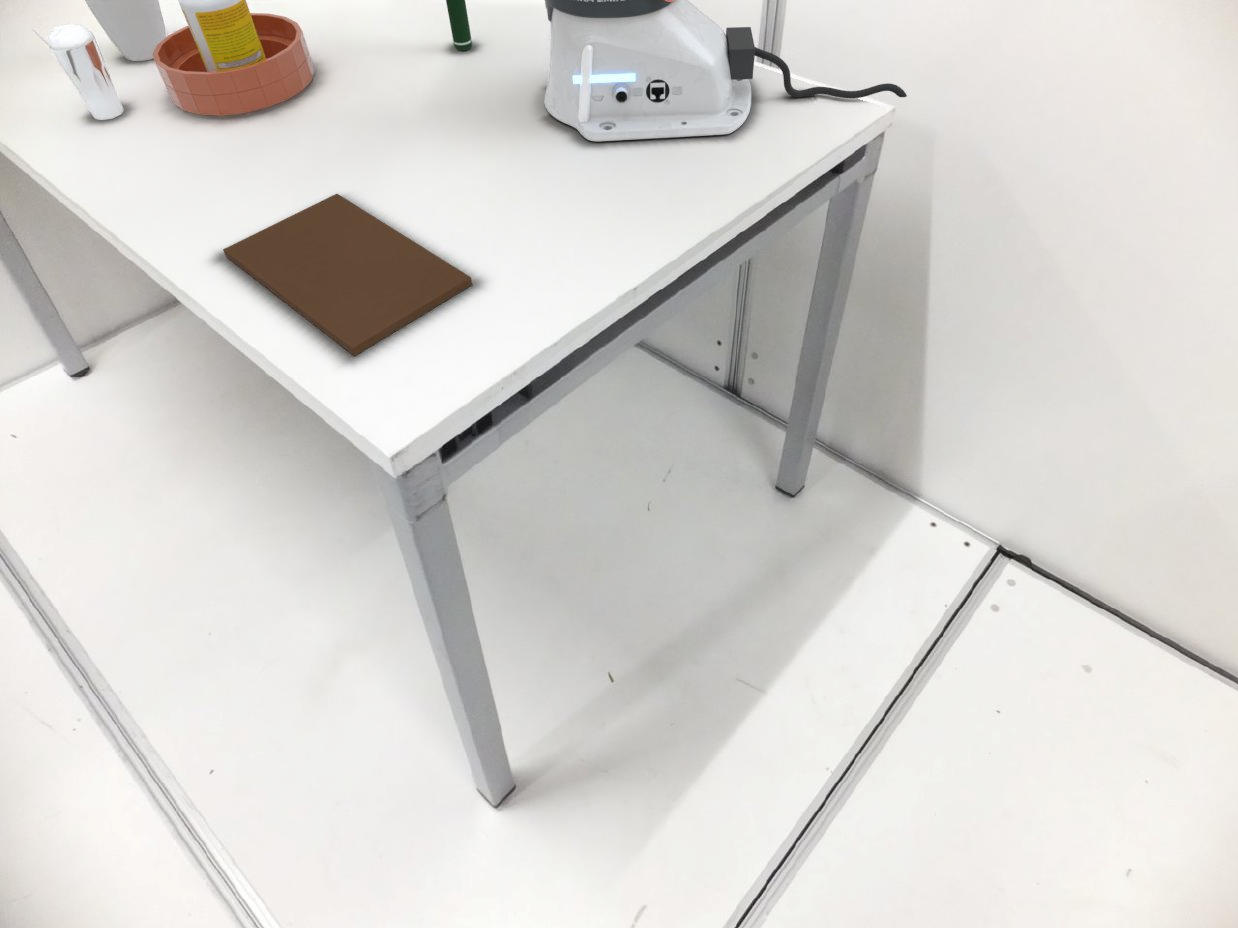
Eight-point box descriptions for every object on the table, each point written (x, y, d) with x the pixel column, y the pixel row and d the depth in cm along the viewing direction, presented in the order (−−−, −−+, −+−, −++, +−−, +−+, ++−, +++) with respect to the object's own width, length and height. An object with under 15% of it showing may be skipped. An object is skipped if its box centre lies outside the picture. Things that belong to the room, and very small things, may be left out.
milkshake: (72, 120, 92) (19, 25, 84) (114, 100, 95) (67, 7, 87) (96, 130, 90) (44, 34, 83) (138, 110, 93) (92, 15, 85)
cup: (191, 39, 106) (155, -49, 98) (162, 67, 100) (122, -24, 93) (131, 38, 106) (91, -49, 99) (99, 66, 101) (54, -24, 93)
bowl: (335, 58, 100) (322, 14, 96) (281, 122, 90) (264, 76, 86) (213, 54, 102) (196, 11, 98) (146, 117, 92) (124, 71, 88)
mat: (472, 285, 70) (471, 277, 69) (354, 356, 64) (351, 348, 64) (339, 200, 79) (336, 193, 79) (226, 257, 74) (222, 249, 73)
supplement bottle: (284, 77, 96) (243, -46, 86) (239, 100, 93) (190, -26, 83) (247, 65, 99) (202, -57, 89) (201, 87, 95) (149, -37, 85)
